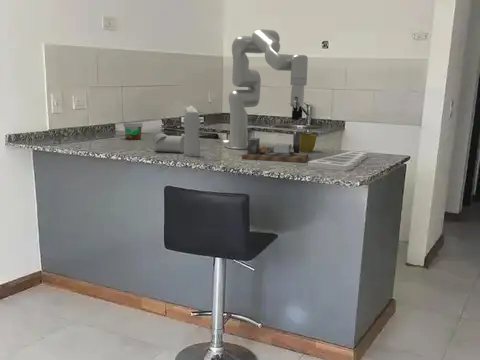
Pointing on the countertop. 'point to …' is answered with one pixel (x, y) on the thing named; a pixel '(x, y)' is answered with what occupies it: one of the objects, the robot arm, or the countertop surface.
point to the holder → (339, 161)
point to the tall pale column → (191, 134)
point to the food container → (133, 131)
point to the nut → (262, 149)
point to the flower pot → (307, 142)
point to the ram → (289, 145)
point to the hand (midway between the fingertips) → (296, 118)
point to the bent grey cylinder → (168, 143)
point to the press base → (270, 154)
